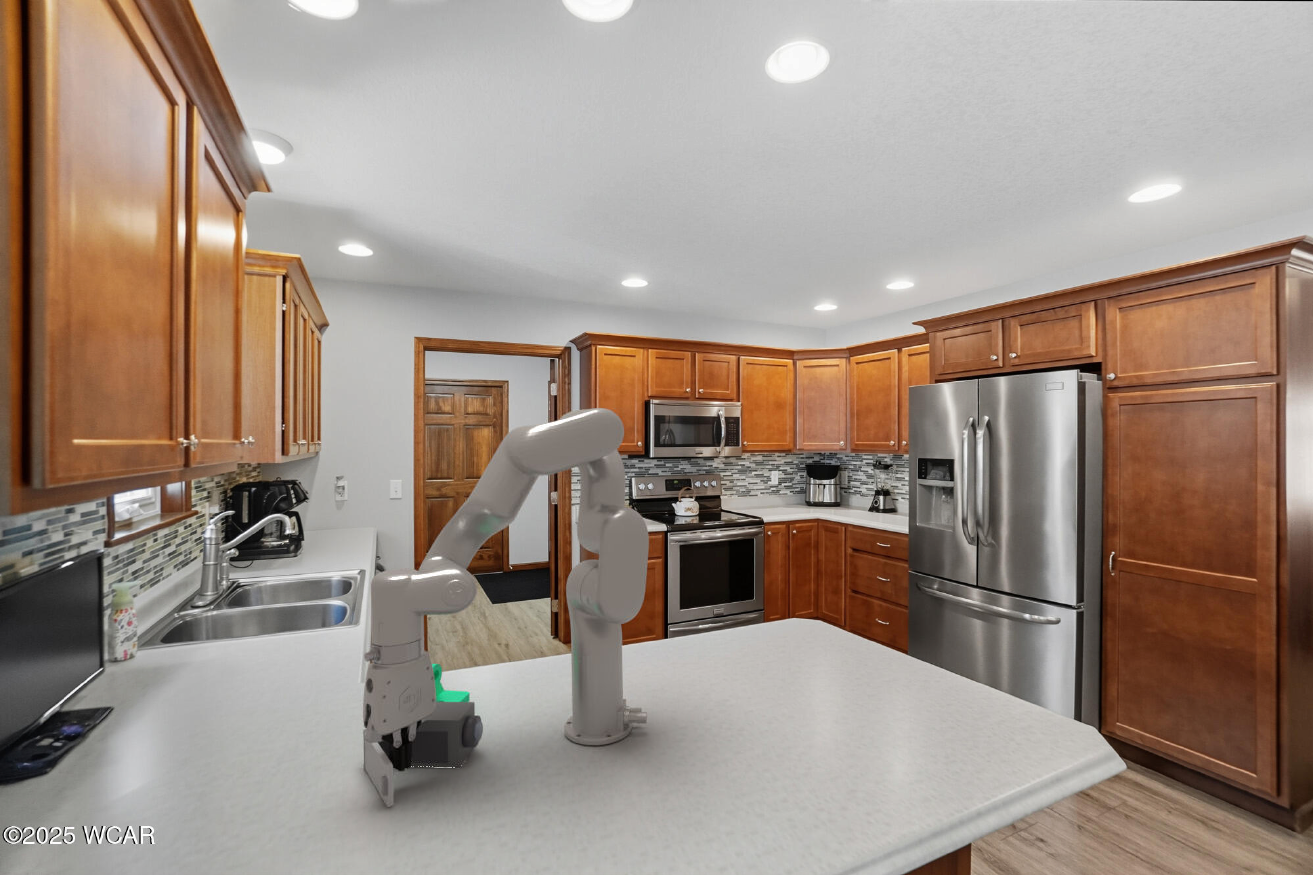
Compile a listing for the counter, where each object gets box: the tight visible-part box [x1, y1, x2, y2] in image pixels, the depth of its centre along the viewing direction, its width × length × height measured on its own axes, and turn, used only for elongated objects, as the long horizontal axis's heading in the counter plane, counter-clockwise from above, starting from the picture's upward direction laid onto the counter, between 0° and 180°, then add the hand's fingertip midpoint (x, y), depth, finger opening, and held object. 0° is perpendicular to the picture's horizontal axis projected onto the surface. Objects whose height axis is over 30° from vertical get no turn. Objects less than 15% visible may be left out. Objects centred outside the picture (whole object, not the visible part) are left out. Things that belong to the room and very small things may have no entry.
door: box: [362, 728, 394, 808], centre depth 95 cm, size 14×1×6 cm, turn 39°
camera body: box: [365, 701, 484, 769], centre depth 104 cm, size 18×7×9 cm, turn 86°
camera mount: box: [432, 663, 471, 702], centre depth 120 cm, size 12×8×10 cm, turn 170°
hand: (400, 766), depth 94 cm, fingers closed
